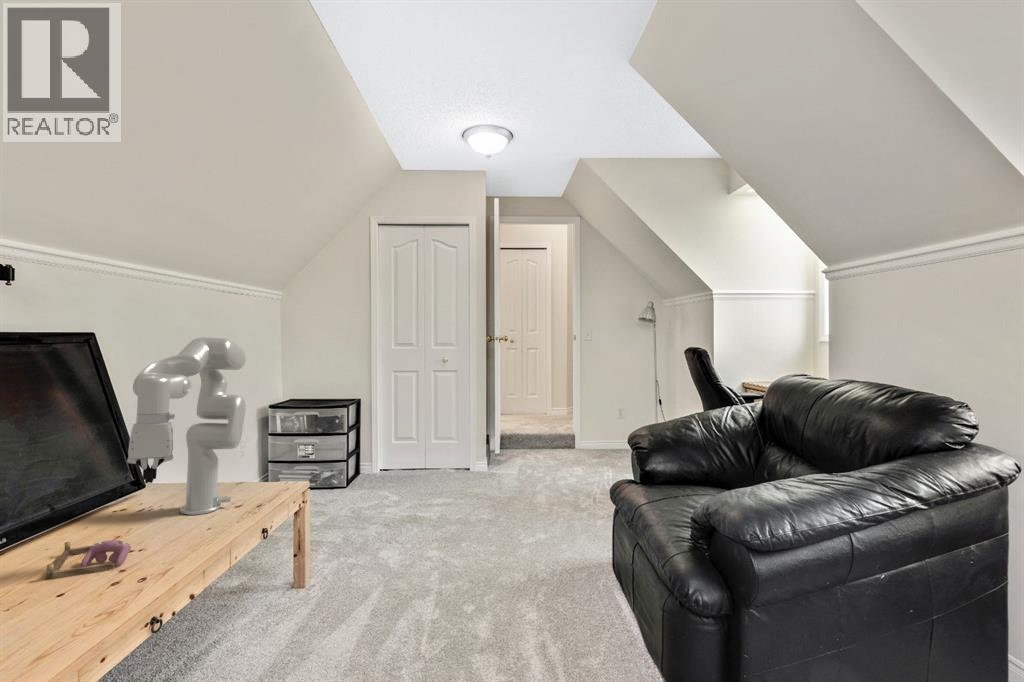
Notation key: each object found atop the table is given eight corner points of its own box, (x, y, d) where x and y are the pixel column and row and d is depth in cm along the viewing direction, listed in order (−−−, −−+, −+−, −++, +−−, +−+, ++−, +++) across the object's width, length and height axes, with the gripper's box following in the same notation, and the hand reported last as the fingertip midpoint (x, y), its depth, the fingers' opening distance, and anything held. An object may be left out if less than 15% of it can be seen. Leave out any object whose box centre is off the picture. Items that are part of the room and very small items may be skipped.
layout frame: (123, 546, 142) (124, 534, 142) (112, 569, 128) (113, 556, 128) (64, 554, 135) (65, 542, 135) (45, 579, 121) (46, 566, 121)
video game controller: (127, 567, 133) (135, 540, 136) (119, 566, 129) (127, 538, 132) (87, 568, 131) (96, 541, 134) (77, 568, 127) (86, 539, 130)
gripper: (184, 416, 146) (181, 476, 146) (122, 417, 138) (119, 481, 138) (182, 419, 139) (179, 482, 139) (117, 422, 132) (113, 488, 132)
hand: (149, 481), depth 139 cm, fingers closed
